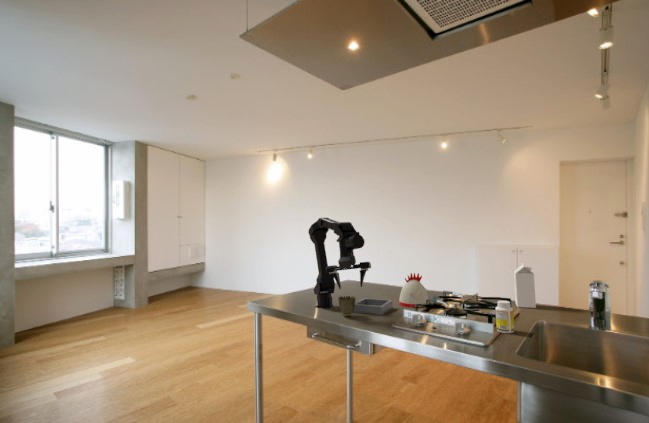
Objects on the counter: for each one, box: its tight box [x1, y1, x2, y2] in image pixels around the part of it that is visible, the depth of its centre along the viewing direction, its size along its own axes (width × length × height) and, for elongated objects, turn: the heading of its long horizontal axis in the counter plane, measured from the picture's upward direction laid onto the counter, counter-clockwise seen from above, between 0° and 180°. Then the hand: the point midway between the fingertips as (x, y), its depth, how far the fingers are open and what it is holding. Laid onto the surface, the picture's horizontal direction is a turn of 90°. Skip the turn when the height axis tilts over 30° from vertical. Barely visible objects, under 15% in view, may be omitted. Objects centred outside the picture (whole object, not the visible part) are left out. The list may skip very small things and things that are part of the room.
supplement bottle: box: [495, 300, 515, 334], centre depth 122 cm, size 6×6×10 cm
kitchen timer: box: [398, 272, 430, 309], centre depth 167 cm, size 14×14×15 cm
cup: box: [337, 295, 356, 318], centre depth 149 cm, size 8×7×8 cm
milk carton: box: [513, 262, 537, 309], centre depth 156 cm, size 7×7×19 cm
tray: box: [352, 297, 394, 316], centre depth 158 cm, size 14×14×4 cm
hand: (350, 288), depth 148 cm, fingers open, 9 cm apart
